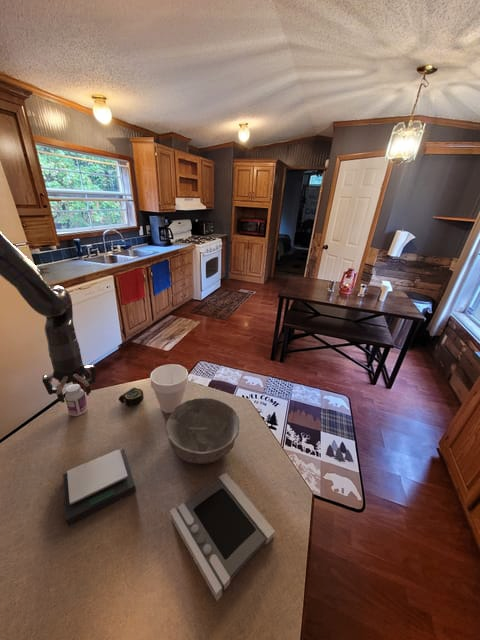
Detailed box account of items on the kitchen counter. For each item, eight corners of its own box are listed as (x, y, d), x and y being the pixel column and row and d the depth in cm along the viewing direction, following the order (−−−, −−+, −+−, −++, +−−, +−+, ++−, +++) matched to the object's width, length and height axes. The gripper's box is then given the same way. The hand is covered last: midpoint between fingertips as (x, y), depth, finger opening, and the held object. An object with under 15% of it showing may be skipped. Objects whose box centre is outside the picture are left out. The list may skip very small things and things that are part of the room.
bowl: (251, 457, 73) (254, 431, 69) (185, 496, 62) (184, 468, 58) (215, 412, 89) (216, 389, 85) (157, 437, 77) (155, 411, 73)
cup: (195, 401, 93) (195, 370, 87) (174, 424, 82) (172, 390, 77) (168, 390, 97) (166, 360, 92) (144, 411, 87) (141, 378, 81)
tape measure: (135, 393, 94) (134, 384, 93) (148, 400, 92) (147, 391, 90) (119, 403, 89) (117, 395, 87) (132, 411, 86) (131, 402, 85)
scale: (68, 527, 54) (64, 516, 53) (64, 480, 63) (61, 471, 62) (135, 491, 62) (134, 482, 61) (124, 455, 71) (123, 445, 70)
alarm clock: (169, 511, 56) (227, 464, 65) (171, 522, 58) (227, 476, 68) (216, 593, 44) (277, 522, 54) (217, 604, 46) (275, 534, 56)
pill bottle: (85, 402, 88) (80, 380, 84) (90, 411, 85) (85, 388, 81) (66, 410, 84) (61, 386, 81) (71, 419, 81) (65, 395, 77)
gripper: (91, 342, 82) (98, 384, 89) (35, 353, 74) (48, 398, 81) (94, 353, 77) (102, 396, 83) (34, 365, 69) (48, 413, 76)
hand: (75, 397), depth 82 cm, fingers open, 6 cm apart
